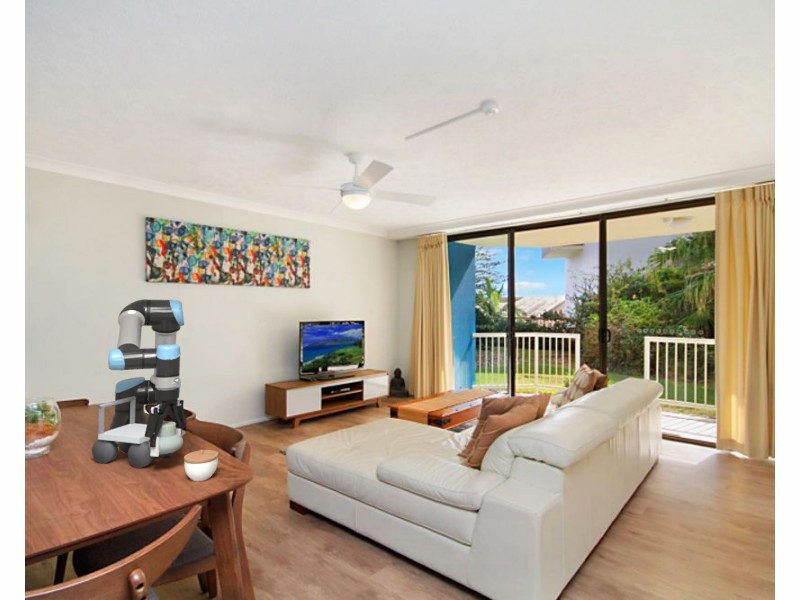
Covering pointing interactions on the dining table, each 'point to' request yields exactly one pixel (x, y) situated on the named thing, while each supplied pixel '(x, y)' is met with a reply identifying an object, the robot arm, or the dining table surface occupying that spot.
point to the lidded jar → (201, 464)
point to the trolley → (123, 439)
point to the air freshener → (168, 438)
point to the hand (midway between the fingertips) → (165, 451)
